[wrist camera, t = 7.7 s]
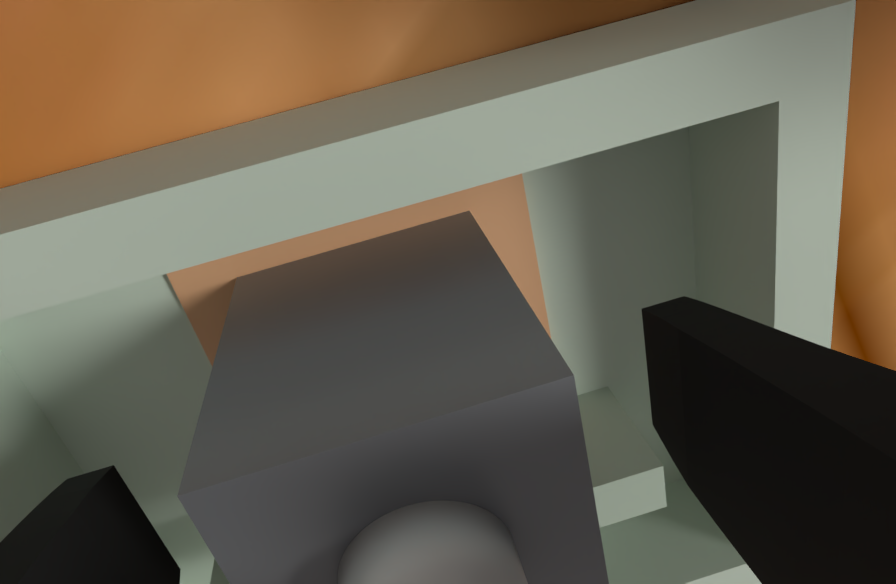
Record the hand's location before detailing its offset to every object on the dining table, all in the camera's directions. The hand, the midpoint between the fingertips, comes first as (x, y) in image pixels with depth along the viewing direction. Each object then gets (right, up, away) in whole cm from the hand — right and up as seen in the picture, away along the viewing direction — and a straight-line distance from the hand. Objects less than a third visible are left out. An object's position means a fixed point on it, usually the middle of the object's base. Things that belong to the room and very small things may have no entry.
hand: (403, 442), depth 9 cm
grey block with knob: (-1, +1, +3) cm, 3 cm away
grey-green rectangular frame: (0, 0, +4) cm, 4 cm away
